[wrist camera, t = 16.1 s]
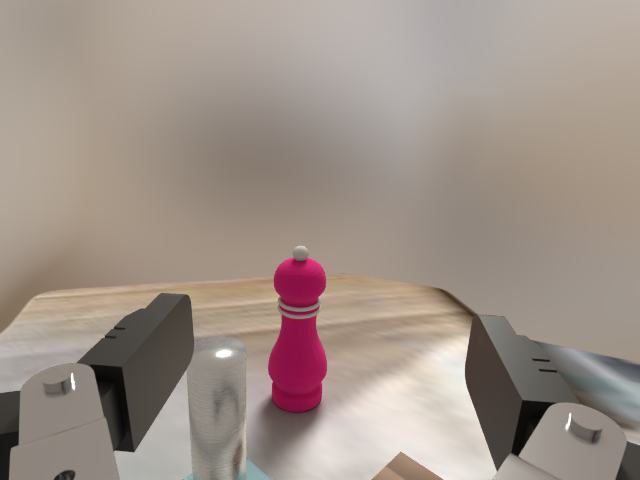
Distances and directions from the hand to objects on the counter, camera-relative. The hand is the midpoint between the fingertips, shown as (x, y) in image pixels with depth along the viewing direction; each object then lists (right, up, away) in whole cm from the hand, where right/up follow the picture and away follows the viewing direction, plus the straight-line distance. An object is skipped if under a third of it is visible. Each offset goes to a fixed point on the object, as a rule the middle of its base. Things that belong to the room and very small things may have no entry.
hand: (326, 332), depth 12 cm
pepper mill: (-3, -17, +43) cm, 46 cm away
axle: (-8, -22, +23) cm, 33 cm away
